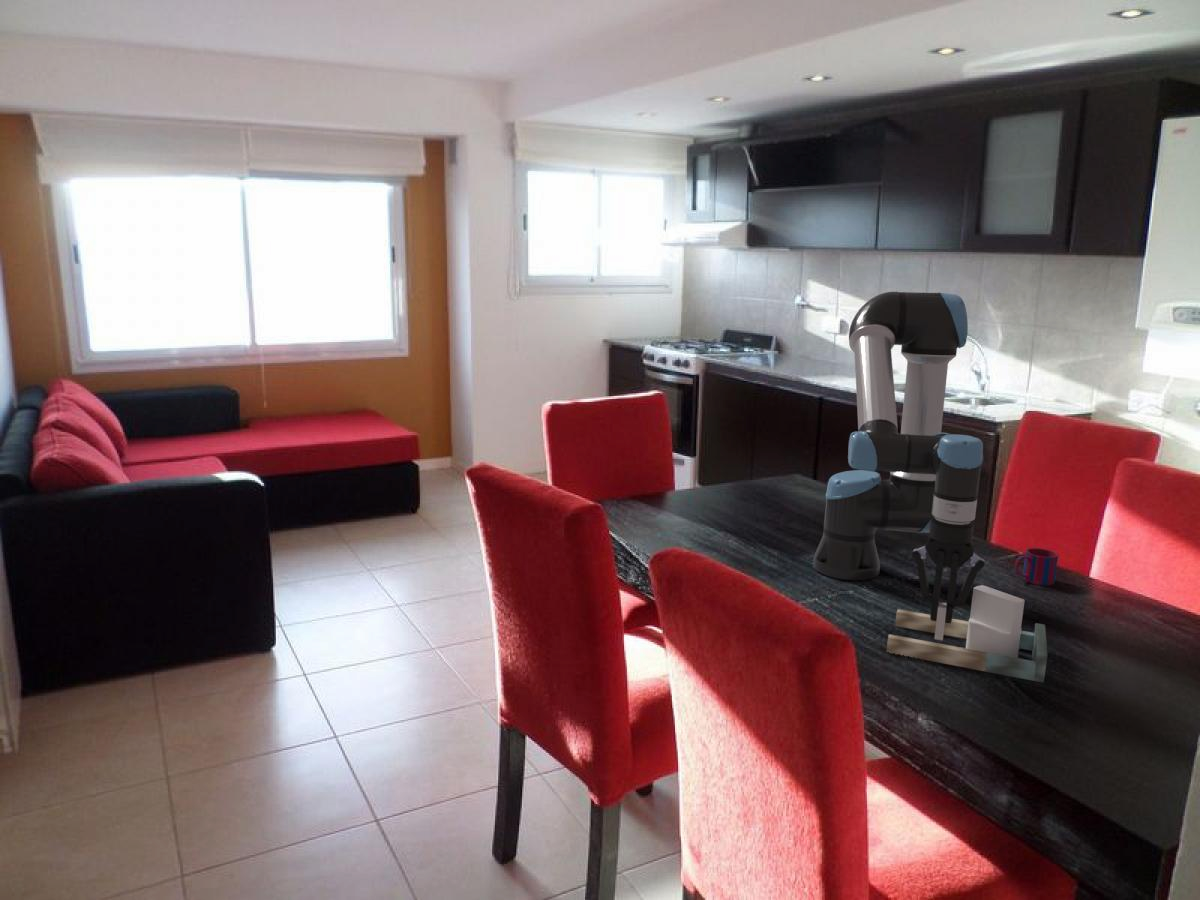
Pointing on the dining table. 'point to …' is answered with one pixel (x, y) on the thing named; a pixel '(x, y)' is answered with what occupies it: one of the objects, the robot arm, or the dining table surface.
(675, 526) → the dining table surface
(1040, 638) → the bay
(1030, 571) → the mug
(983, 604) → the cylinder with rectangular tab
